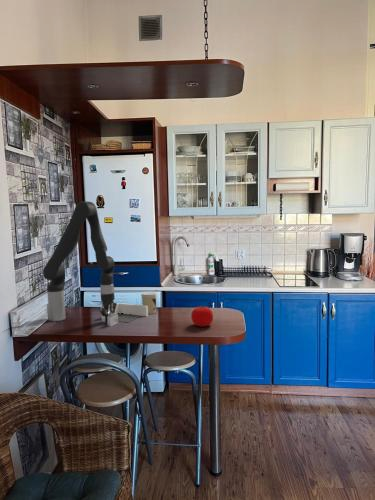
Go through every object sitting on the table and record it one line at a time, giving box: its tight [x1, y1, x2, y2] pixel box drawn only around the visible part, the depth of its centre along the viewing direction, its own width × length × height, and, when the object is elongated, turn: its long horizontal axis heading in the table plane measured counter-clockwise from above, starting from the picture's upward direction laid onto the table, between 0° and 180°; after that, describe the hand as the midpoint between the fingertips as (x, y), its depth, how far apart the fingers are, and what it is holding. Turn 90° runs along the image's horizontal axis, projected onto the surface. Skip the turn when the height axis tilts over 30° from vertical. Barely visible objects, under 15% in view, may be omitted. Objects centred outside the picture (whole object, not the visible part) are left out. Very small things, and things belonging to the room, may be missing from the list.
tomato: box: [190, 305, 214, 328], centre depth 200 cm, size 12×12×10 cm
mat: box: [118, 314, 140, 324], centre depth 217 cm, size 10×12×1 cm
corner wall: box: [106, 302, 149, 317], centre depth 220 cm, size 21×15×6 cm
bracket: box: [101, 313, 119, 327], centre depth 208 cm, size 10×7×5 cm
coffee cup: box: [140, 291, 157, 315], centre depth 229 cm, size 9×9×12 cm
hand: (108, 322), depth 211 cm, fingers closed on bracket
